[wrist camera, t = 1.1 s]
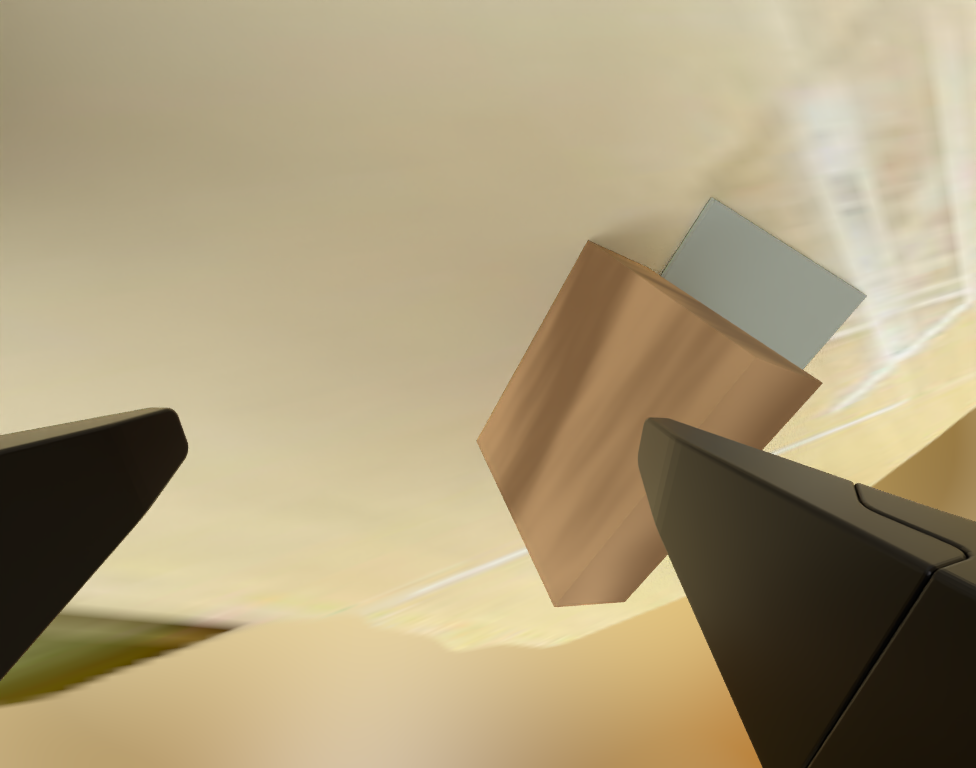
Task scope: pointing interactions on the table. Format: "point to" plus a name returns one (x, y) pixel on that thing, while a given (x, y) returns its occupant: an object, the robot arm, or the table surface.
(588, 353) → the walnut block
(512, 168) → the table surface
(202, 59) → the table surface
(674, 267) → the mat
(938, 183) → the table surface
